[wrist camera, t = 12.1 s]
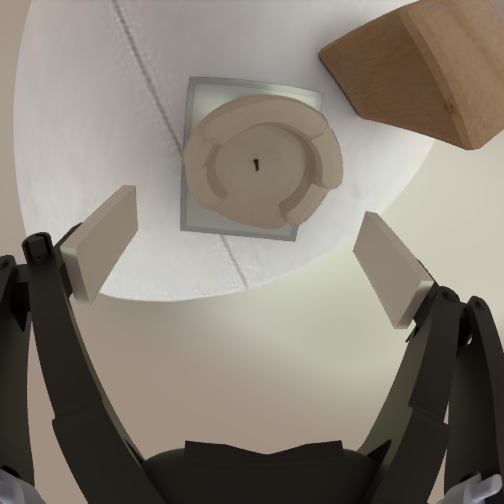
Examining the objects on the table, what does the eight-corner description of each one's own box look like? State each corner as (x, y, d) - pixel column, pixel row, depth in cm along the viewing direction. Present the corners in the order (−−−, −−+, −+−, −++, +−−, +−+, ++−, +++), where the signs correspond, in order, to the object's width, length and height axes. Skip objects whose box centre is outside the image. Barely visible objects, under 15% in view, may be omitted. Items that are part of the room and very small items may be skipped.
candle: (207, 216, 32) (170, 360, 15) (223, 95, 25) (177, 81, 8) (268, 224, 32) (293, 371, 15) (292, 106, 25) (382, 121, 8)
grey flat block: (194, 78, 26) (189, 76, 23) (316, 93, 27) (324, 93, 25) (185, 220, 35) (179, 231, 33) (291, 230, 37) (295, 242, 34)
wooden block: (360, 121, 29) (475, 160, 12) (313, 53, 25) (401, 5, 8) (415, 87, 26) (537, 107, 9) (374, 22, 22) (485, -16, 5)
